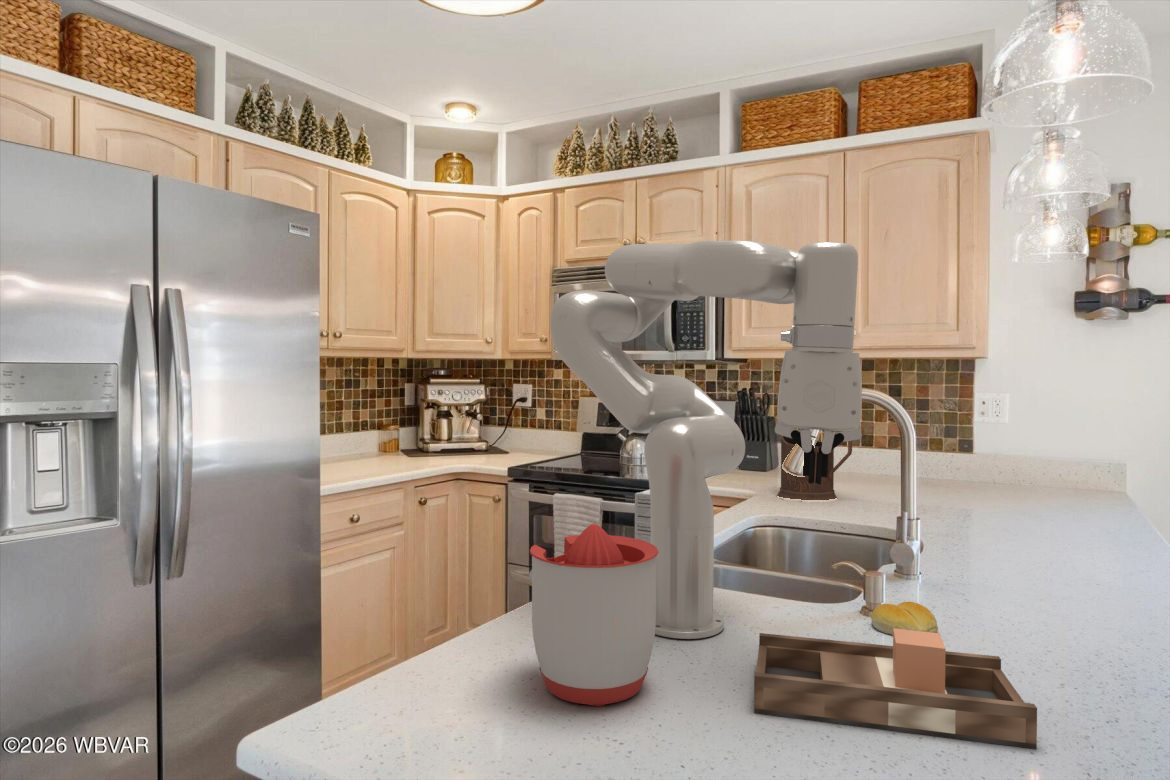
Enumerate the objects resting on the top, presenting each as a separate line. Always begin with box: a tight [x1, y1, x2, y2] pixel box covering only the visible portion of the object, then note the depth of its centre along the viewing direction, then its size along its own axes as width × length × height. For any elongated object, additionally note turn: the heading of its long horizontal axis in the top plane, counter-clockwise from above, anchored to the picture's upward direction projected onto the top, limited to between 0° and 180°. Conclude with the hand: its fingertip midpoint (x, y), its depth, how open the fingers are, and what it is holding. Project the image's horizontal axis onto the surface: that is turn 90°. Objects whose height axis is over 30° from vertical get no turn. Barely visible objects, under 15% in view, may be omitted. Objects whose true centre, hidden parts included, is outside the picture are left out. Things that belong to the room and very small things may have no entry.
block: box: [892, 628, 946, 694], centre depth 82 cm, size 5×5×5 cm
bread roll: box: [870, 601, 939, 636], centre depth 107 cm, size 8×9×4 cm
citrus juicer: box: [528, 523, 658, 707], centre depth 88 cm, size 16×17×20 cm
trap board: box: [753, 632, 1038, 750], centre depth 83 cm, size 28×14×4 cm, turn 74°
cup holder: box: [776, 435, 853, 500], centre depth 222 cm, size 18×24×25 cm
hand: (814, 482), depth 93 cm, fingers closed
